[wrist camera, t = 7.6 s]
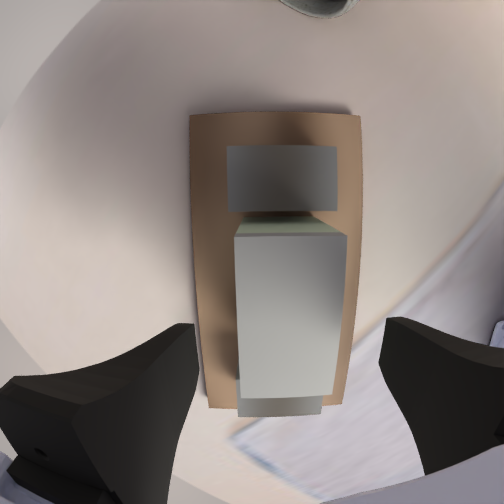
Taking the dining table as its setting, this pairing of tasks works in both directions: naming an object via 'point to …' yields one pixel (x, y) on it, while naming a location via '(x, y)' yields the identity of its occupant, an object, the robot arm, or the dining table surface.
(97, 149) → the dining table surface
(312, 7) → the ceramic mug
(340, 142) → the post base
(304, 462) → the dining table surface
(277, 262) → the bracket block
